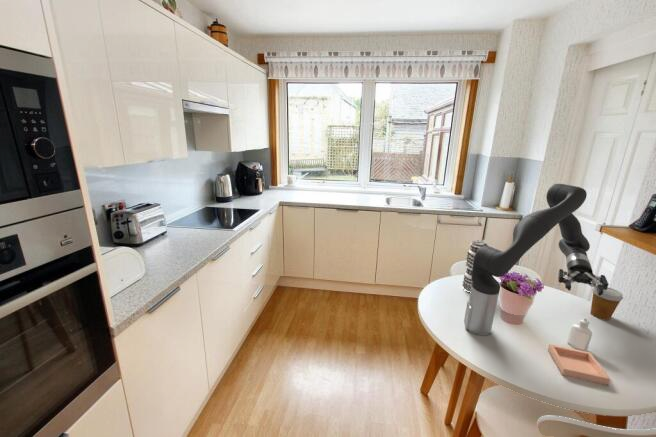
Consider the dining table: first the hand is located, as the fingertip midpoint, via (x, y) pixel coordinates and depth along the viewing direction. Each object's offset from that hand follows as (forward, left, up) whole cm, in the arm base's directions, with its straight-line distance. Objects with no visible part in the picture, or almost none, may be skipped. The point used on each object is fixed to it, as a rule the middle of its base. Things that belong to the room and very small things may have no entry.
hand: (584, 291), depth 108 cm
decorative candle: (-32, +24, -19) cm, 44 cm away
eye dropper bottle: (-1, -7, -19) cm, 20 cm away
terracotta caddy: (-6, -19, -19) cm, 28 cm away
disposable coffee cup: (+18, +20, -19) cm, 33 cm away
